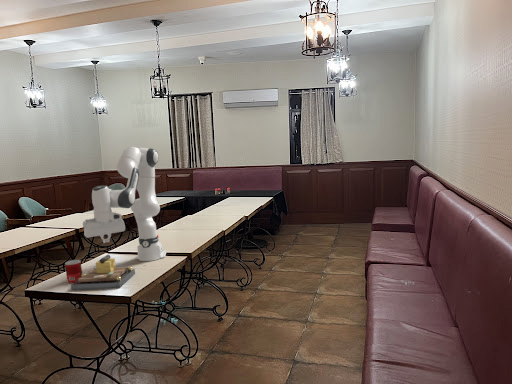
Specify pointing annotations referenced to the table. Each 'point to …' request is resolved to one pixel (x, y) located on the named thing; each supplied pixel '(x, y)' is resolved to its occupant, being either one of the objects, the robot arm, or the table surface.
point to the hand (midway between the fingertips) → (106, 242)
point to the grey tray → (104, 282)
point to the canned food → (73, 270)
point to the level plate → (93, 273)
